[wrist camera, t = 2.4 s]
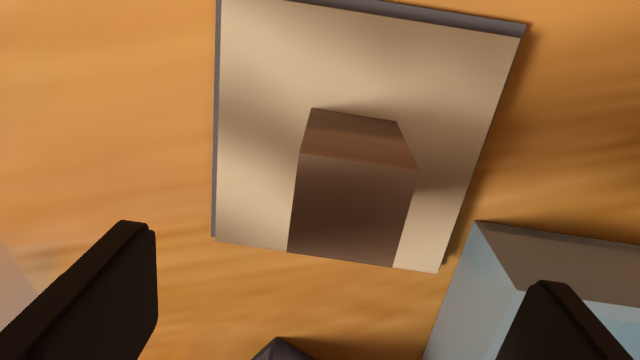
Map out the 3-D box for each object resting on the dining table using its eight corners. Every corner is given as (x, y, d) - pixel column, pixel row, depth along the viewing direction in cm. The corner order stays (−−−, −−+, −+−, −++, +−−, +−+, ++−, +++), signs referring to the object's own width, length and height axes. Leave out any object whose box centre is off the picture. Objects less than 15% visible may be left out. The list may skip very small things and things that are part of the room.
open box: (473, 220, 19) (516, 290, 14) (668, 249, 19) (772, 327, 14) (421, 358, 23) (441, 445, 18) (580, 380, 23) (639, 472, 19)
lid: (229, -9, 14) (162, -15, 9) (509, 36, 15) (609, 56, 9) (220, 229, 19) (174, 319, 14) (432, 261, 19) (468, 361, 14)
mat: (219, -25, 15) (216, -26, 14) (522, 24, 15) (527, 24, 14) (213, 232, 20) (211, 236, 19) (437, 265, 20) (439, 270, 20)
